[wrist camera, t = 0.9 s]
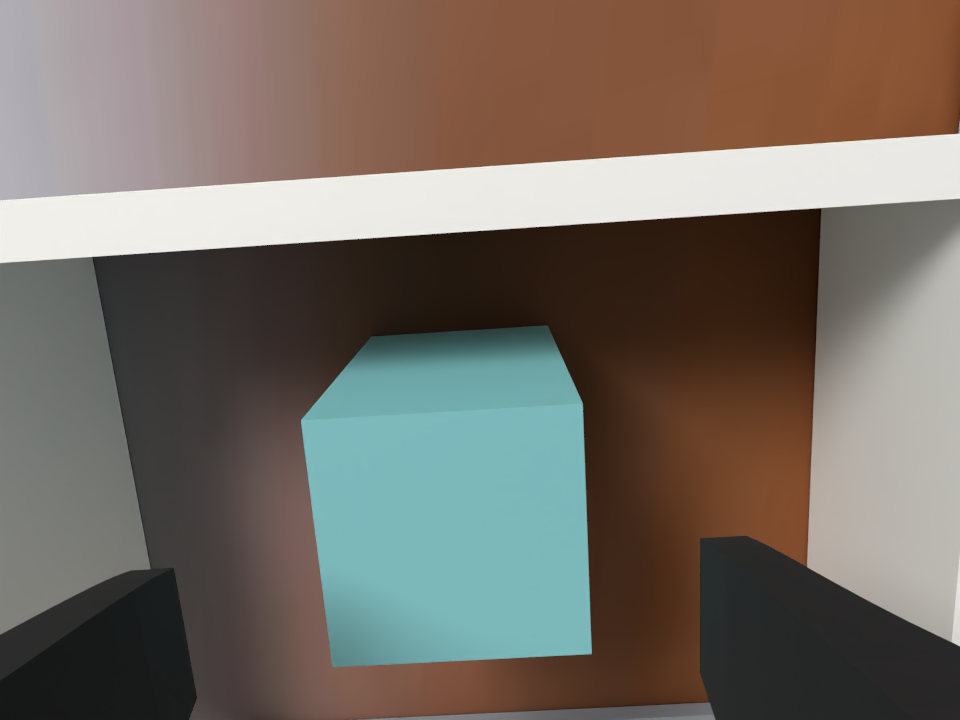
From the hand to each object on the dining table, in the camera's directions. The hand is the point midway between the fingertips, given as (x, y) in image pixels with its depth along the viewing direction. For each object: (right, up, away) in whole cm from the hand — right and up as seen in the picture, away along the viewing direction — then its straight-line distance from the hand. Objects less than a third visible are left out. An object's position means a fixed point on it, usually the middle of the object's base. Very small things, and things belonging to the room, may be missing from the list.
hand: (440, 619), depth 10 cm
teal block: (0, +2, +9) cm, 9 cm away
